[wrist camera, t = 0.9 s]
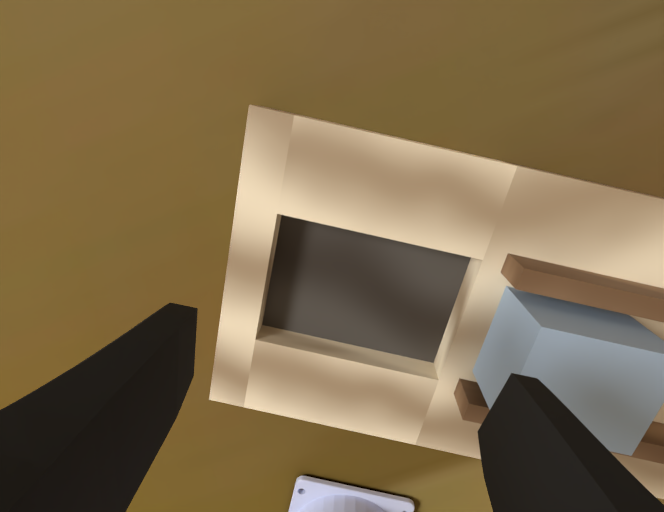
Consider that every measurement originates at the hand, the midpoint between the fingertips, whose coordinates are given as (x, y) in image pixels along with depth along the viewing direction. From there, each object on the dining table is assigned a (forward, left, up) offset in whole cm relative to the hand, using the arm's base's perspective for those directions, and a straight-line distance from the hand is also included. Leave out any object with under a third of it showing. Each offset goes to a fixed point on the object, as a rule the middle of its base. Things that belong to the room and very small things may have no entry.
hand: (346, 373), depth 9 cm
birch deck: (-3, -12, -13) cm, 18 cm away
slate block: (-3, -11, -11) cm, 15 cm away
